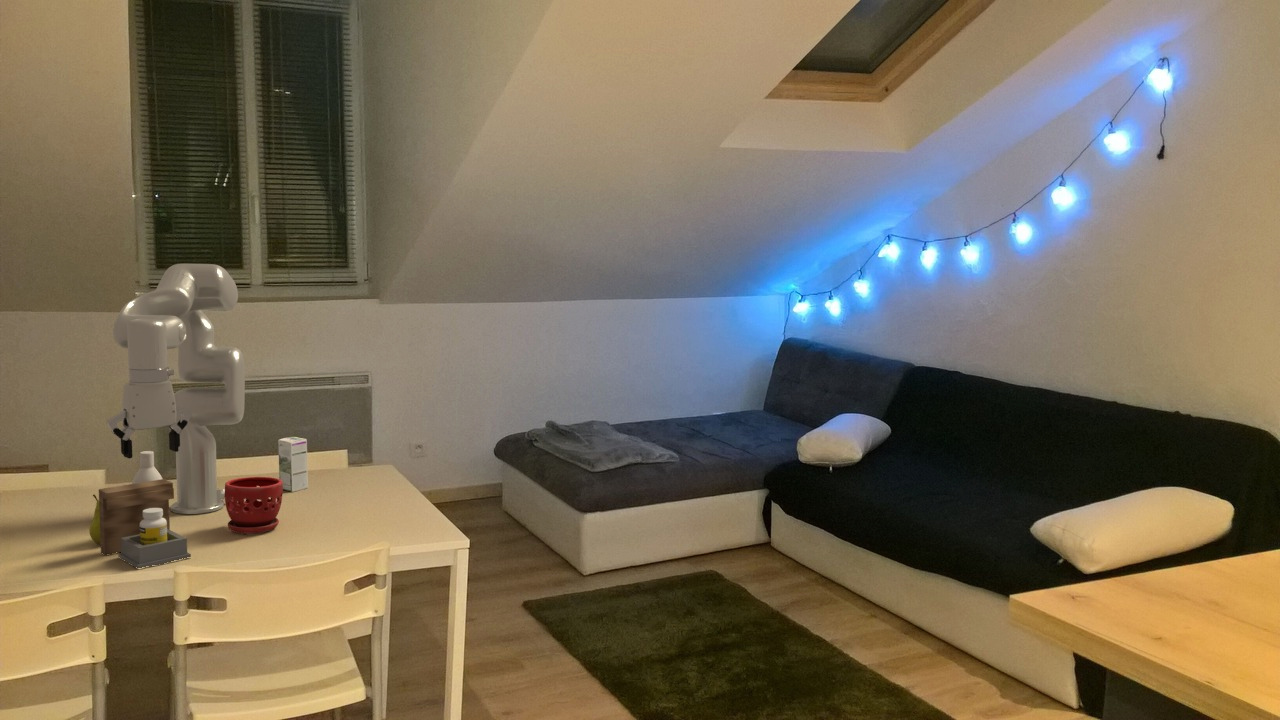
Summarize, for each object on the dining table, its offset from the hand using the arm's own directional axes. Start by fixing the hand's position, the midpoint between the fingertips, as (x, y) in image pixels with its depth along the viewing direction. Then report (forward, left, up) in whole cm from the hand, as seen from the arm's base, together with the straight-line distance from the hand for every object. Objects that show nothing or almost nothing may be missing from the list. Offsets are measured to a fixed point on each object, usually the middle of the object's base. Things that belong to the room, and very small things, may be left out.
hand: (151, 453), depth 212 cm
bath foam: (-6, -18, -24) cm, 30 cm away
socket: (0, 0, -23) cm, 23 cm away
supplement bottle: (0, 0, -23) cm, 23 cm away
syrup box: (-52, -35, -24) cm, 67 cm away
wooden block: (0, -9, -23) cm, 25 cm away
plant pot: (-26, -6, -24) cm, 36 cm away
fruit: (+4, -18, -24) cm, 30 cm away
